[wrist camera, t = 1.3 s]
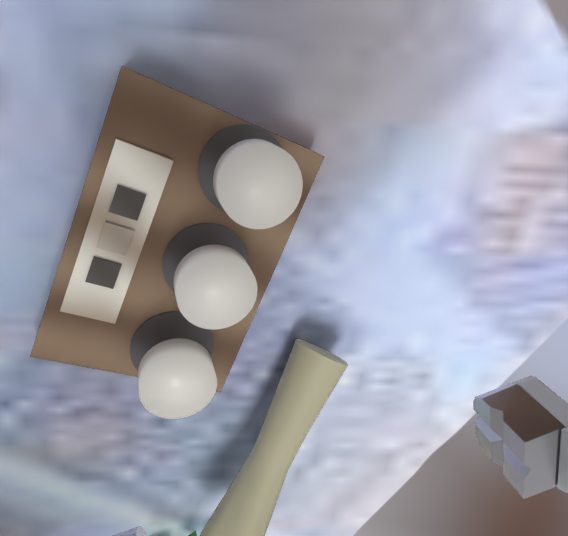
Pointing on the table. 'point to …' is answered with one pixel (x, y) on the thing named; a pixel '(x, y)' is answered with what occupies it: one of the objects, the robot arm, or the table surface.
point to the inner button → (176, 379)
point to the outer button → (257, 183)
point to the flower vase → (277, 442)
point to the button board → (154, 231)
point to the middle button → (214, 287)
